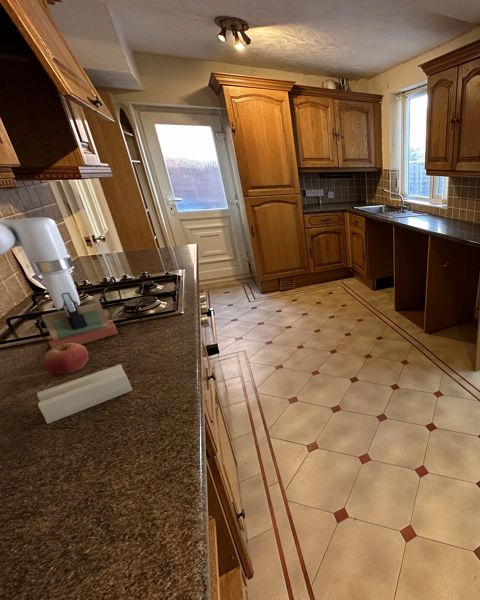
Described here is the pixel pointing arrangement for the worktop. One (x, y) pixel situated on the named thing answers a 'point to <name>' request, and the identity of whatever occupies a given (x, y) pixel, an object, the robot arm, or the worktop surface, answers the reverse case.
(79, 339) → the stand
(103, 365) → the worktop surface
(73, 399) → the holder
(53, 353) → the apple
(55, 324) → the frame
